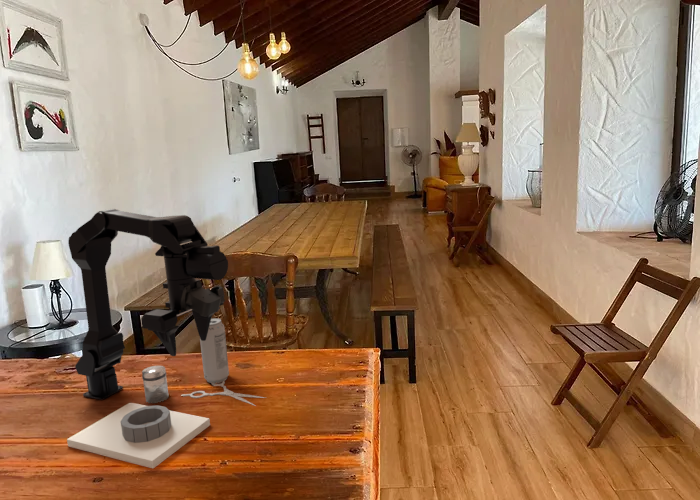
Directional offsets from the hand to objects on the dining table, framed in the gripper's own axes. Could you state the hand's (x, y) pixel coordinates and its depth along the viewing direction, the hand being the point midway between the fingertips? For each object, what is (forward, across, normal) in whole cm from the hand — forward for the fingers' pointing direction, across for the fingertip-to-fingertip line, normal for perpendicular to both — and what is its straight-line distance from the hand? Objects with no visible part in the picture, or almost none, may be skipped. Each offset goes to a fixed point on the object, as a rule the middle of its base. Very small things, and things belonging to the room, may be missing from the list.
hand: (189, 347), depth 114 cm
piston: (+15, +2, +13) cm, 20 cm away
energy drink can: (+15, +15, +6) cm, 22 cm away
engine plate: (+15, -12, +4) cm, 19 cm away
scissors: (+15, +9, -2) cm, 18 cm away
